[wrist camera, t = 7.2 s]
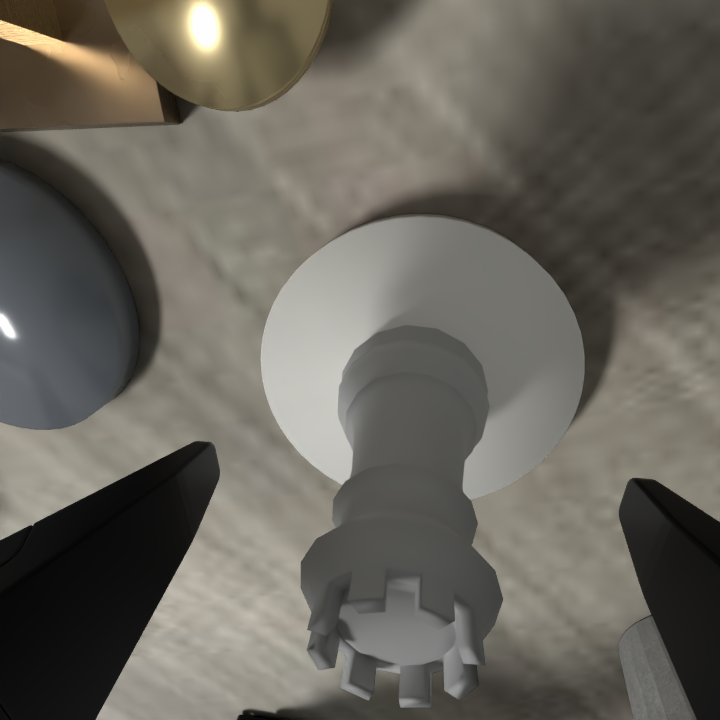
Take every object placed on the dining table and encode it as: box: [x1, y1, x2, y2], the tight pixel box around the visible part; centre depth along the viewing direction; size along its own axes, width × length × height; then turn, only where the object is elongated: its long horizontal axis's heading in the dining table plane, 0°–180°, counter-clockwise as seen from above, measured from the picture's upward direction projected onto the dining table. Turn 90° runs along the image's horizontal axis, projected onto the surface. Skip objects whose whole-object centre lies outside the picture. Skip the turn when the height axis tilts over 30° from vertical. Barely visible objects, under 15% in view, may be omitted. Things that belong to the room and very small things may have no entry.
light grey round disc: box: [261, 214, 585, 500], centre depth 13 cm, size 10×10×1 cm
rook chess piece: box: [301, 325, 503, 708], centre depth 9 cm, size 4×4×8 cm
